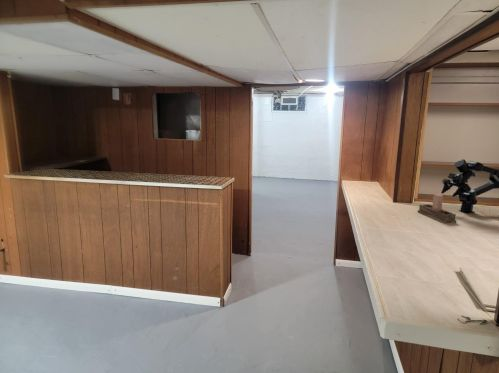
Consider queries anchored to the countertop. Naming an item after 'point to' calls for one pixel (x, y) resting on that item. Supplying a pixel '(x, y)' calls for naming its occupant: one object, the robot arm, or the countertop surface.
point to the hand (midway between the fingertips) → (447, 194)
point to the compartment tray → (437, 214)
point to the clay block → (437, 202)
